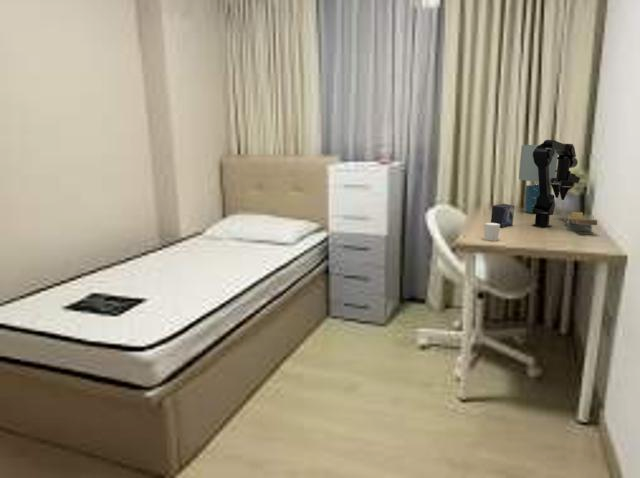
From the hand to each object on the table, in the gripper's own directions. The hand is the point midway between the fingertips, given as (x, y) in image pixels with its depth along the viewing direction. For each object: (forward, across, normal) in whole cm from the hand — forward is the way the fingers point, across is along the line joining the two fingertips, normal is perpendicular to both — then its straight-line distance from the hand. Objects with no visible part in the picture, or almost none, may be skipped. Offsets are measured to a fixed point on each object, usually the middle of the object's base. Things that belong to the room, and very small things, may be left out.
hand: (559, 198), depth 279 cm
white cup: (+14, -47, +43) cm, 65 cm away
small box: (+13, -15, +31) cm, 37 cm away
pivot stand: (+12, -21, -3) cm, 25 cm away
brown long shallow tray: (+9, -21, -3) cm, 23 cm away
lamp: (+12, +28, +4) cm, 31 cm away
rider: (+10, -13, -4) cm, 17 cm away
